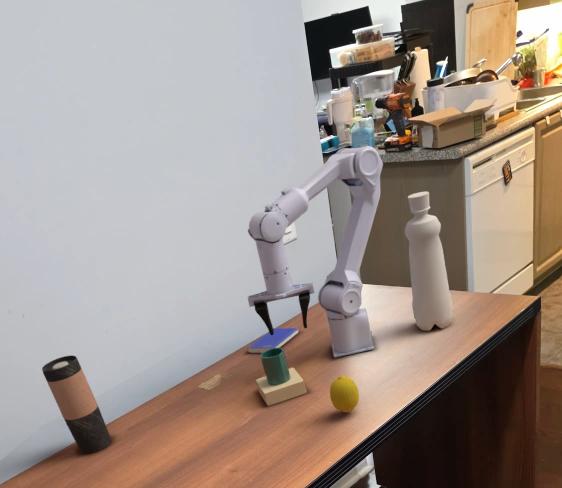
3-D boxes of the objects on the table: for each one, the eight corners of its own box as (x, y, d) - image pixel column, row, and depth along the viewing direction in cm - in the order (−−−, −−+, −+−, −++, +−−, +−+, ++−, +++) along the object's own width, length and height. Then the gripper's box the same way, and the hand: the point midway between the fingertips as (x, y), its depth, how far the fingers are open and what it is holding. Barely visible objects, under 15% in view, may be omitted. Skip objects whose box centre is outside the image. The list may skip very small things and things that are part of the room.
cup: (290, 372, 145) (283, 345, 142) (290, 382, 140) (283, 354, 137) (268, 377, 145) (260, 351, 142) (267, 387, 141) (259, 360, 138)
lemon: (365, 405, 129) (358, 369, 125) (356, 419, 125) (349, 382, 121) (340, 406, 132) (332, 370, 128) (330, 419, 128) (322, 383, 124)
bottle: (414, 321, 161) (397, 195, 146) (452, 314, 159) (438, 186, 144) (416, 335, 154) (397, 203, 139) (455, 328, 151) (441, 193, 136)
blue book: (272, 347, 165) (297, 327, 173) (247, 347, 170) (272, 328, 178) (273, 353, 166) (298, 333, 174) (248, 352, 171) (274, 333, 179)
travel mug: (118, 435, 146) (84, 353, 136) (100, 454, 140) (62, 369, 130) (91, 437, 149) (55, 356, 139) (72, 455, 143) (33, 372, 133)
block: (296, 379, 149) (293, 367, 147) (306, 393, 141) (303, 380, 139) (258, 391, 148) (255, 379, 146) (267, 406, 140) (264, 393, 139)
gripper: (241, 282, 137) (256, 342, 144) (309, 267, 136) (321, 329, 142) (243, 273, 143) (258, 332, 150) (308, 259, 142) (319, 319, 148)
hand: (288, 330), depth 147 cm, fingers open, 7 cm apart
